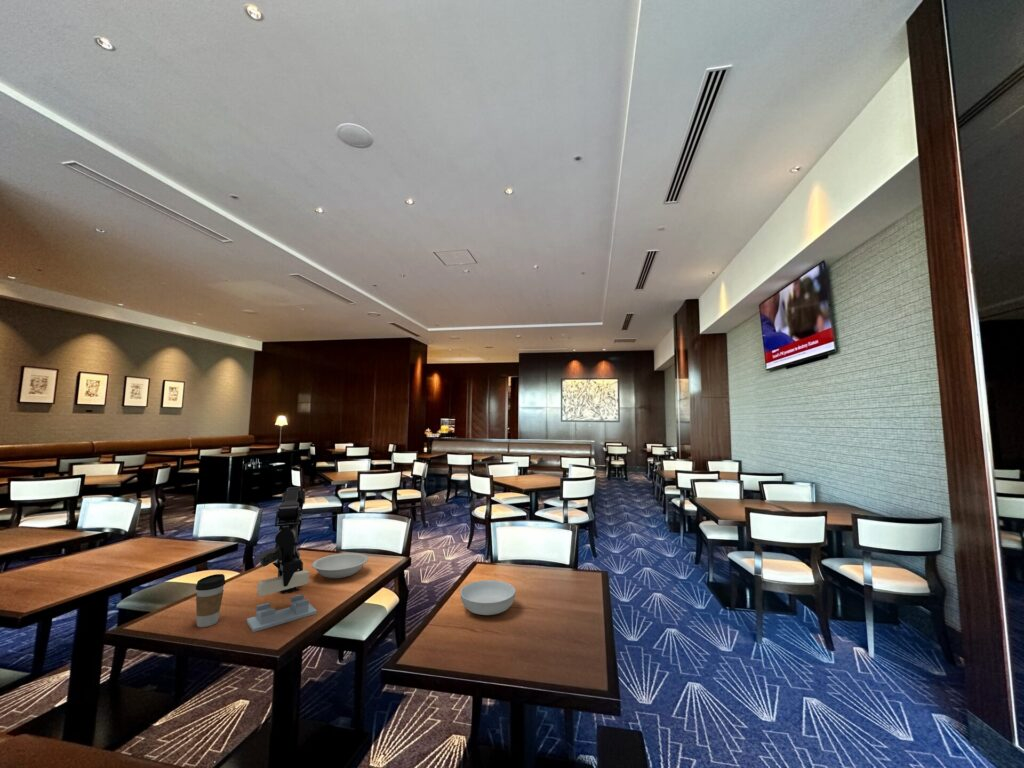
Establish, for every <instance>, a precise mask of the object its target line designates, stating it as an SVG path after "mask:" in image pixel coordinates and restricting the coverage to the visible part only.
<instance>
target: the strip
mask: <svg viewBox="0 0 1024 768" xmlns="http://www.w3.org/2000/svg"><path fill="white" fill-rule="evenodd" d="M309 582H310V571H308V570H306V569H303V571H299V572H295V573H294V574H293V576H292V578H291V580H290V582H289V584H288V586H286V587H284V585H283V576H279V577H278V576H276V577H272V578H268V579H263V580H260V581H257V588H256V589H257V591H256V594H257V595H258V596H259V597H263V596H266V595H267V596H268V595H271V594H275V593H278V592H280V591H282V590H286V589H289V588H293V587H297V586H298V587H300V586H303V585H308V584H309Z"/></svg>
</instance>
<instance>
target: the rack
mask: <svg viewBox="0 0 1024 768" xmlns="http://www.w3.org/2000/svg"><path fill="white" fill-rule="evenodd" d="M255 611H256V612H255V616H252V617H249V618H246V623H247V625H248V626H249V628H250V629H251V631H252V633H255V632H259V631H263V630H265V629H269V628H271V627H275V626H279V625H283V624H285V623H289V622H293V621H296V620H300V619H303V618H306V617H310V616H312V615H313V616H314V615H316V614H317V612H318V611H317V609H316V608H315V607H313V605H312V604H310V599H309V598H306V599H304V594H303V593H302V594H298V595H294V596H291V597H290V606H288V607H286V608H282V609H281V608H280V609H278V610H276V608H275V607H273V608H271V603H270V602H266V603H262V604H257V605H256V610H255Z"/></svg>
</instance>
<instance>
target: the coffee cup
mask: <svg viewBox="0 0 1024 768" xmlns="http://www.w3.org/2000/svg"><path fill="white" fill-rule="evenodd" d="M196 582H197V583H196V585H195V589H194V590H196V595H195V597H196V598H195V603H196V627H198V628H206V627H211V626H213V625H215V624H217V623H218V621H219V618H220V617H219V616H220V610H221V605H222V601H223V595H224V585H226V576H225V574H224V573H218V574H217V573H216V574H212V575H208V576H205V577H203V578H200V579H199V580H198V581H196Z"/></svg>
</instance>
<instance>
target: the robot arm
mask: <svg viewBox="0 0 1024 768" xmlns="http://www.w3.org/2000/svg"><path fill="white" fill-rule="evenodd" d="M281 499H282V500H281V503H280V504H279V507H277V508H276V511H275V512H276V513H275V521H274V527H275V528H276V527H278V532H277V534H276V535H275V538H274V541H275V544H274V547H273V548H270V549H269V550H266V551H265V552H262V553H261V554H259V555H258V556H257V558H258V560H259V563H260V565H261V566H262V567H266V566H269V565H270V564H271V563H272V565H273V566H274V567H276V568H277V577H279V576H283V585H284V587H286V586H288V584H289V582H290V580H291V578H292V576H293V574H294V573H295V572H299V571H303V570H304V562H303V560H302V559H301V554H300V552H299V550H298V549H297V546H298V531H299V530H298V529H299V528H298V527H299V525H300V523H301V522H302V517H303V516H302V515H303V507H304V504H305V503H306V491H304V490H302V489H301V487H299V486H294V487H293V486H291V487H287V488H286V490H285V491H284V492H283V493H282V498H281ZM299 590H300V586H297V587H293V588H289V589H286V590H282V591H279V592H280V593H281V594H287V593H291V592H295V591H299Z"/></svg>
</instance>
